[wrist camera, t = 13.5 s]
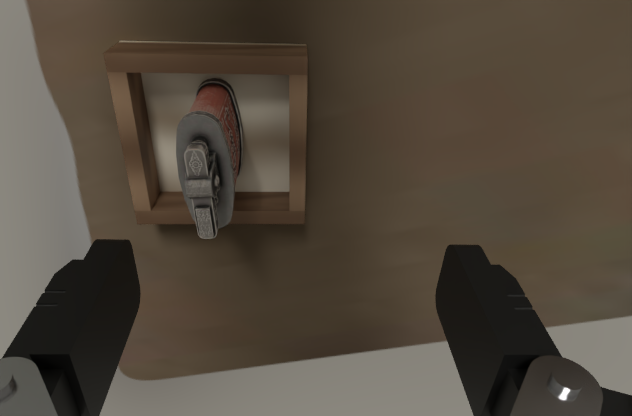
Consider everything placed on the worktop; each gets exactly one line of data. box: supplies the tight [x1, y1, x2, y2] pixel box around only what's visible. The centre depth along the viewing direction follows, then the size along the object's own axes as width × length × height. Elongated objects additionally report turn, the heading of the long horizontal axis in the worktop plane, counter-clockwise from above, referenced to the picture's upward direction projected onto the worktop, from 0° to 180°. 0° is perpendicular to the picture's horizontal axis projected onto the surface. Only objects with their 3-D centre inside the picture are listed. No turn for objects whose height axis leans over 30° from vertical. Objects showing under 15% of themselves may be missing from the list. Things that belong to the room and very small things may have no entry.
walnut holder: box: [103, 41, 308, 224], centre depth 35 cm, size 13×13×4 cm
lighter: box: [176, 78, 244, 239], centre depth 32 cm, size 8×3×10 cm, turn 1°
